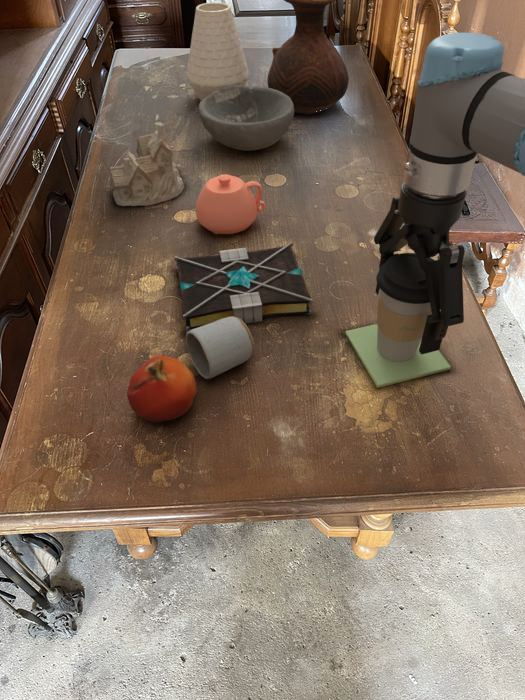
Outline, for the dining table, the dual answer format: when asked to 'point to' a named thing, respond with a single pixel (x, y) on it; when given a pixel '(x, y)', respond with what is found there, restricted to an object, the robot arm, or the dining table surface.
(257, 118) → the bowl
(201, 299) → the book
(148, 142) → the ceramic cottage
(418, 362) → the sage mat
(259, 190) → the sugar bowl
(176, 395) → the tomato
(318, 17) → the jug
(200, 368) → the ceramic mug
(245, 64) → the vase
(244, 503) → the dining table surface
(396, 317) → the coffee cup
